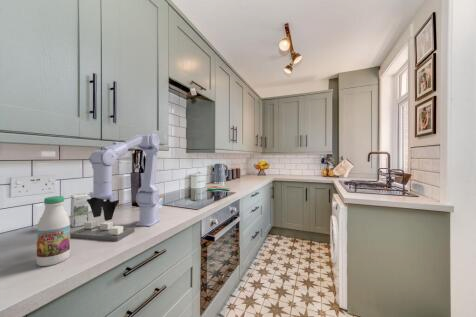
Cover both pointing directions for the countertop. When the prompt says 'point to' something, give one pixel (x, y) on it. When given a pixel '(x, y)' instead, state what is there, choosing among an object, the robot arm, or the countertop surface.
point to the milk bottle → (53, 233)
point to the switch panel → (100, 234)
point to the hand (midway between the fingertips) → (102, 218)
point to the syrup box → (79, 209)
